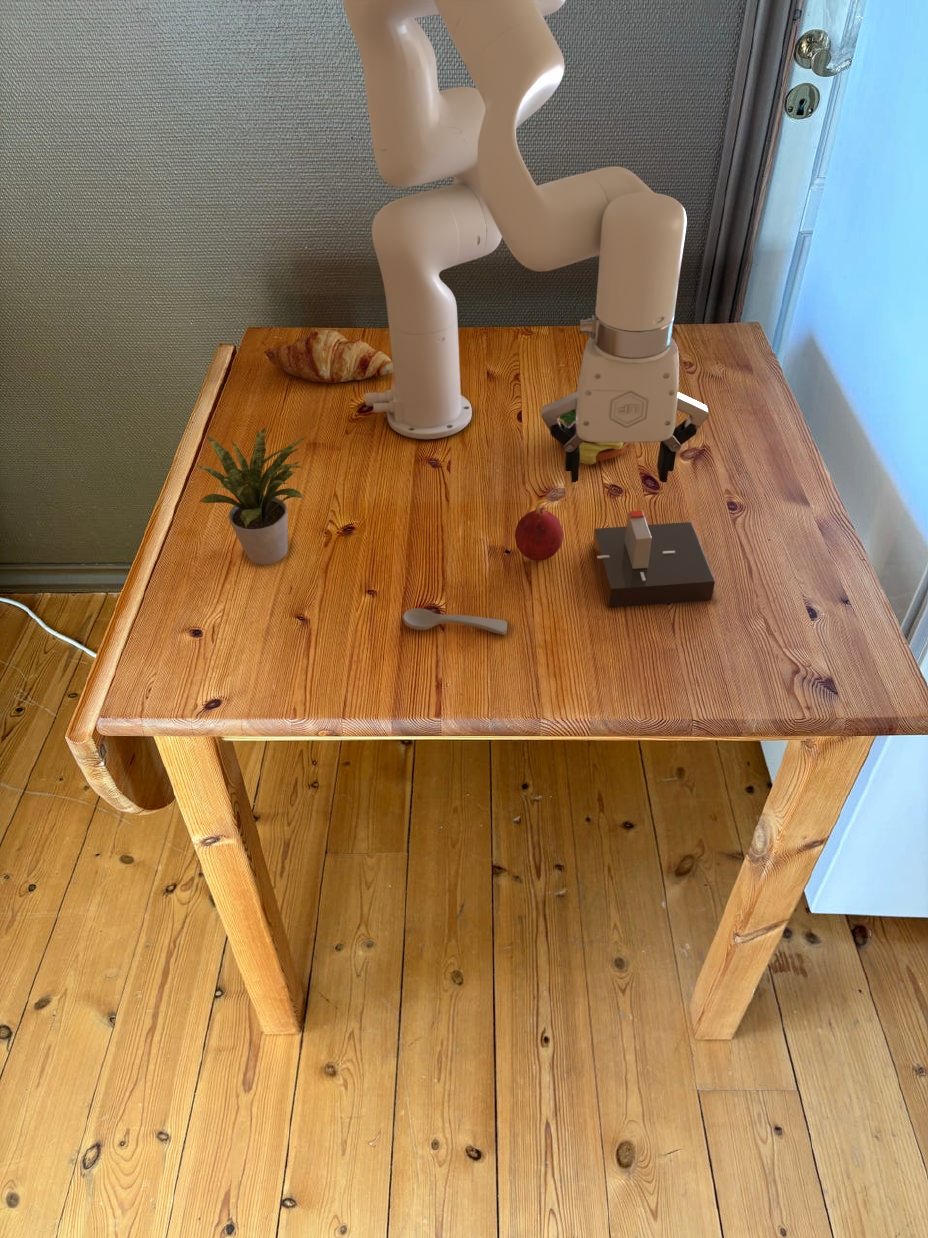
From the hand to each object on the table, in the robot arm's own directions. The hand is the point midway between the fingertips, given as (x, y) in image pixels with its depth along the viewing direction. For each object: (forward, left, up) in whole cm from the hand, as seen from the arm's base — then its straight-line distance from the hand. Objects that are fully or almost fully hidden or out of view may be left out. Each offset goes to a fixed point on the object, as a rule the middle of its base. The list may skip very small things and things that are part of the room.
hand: (617, 475), depth 103 cm
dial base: (+5, -1, -14) cm, 15 cm away
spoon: (-19, -8, -14) cm, 25 cm away
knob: (+3, -1, -11) cm, 11 cm away
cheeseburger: (+3, +27, -14) cm, 30 cm away
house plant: (-41, +7, -14) cm, 44 cm away
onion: (-8, +3, -14) cm, 17 cm away
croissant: (-35, +52, -14) cm, 64 cm away
